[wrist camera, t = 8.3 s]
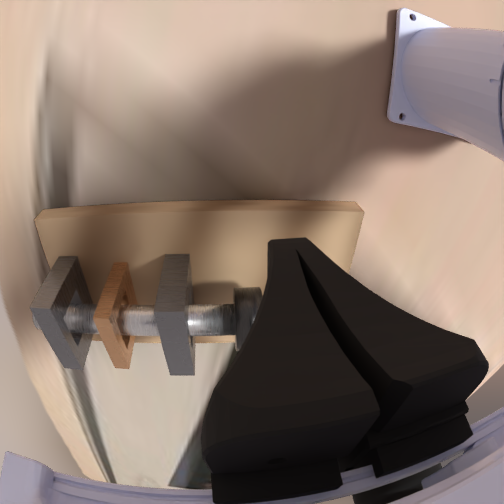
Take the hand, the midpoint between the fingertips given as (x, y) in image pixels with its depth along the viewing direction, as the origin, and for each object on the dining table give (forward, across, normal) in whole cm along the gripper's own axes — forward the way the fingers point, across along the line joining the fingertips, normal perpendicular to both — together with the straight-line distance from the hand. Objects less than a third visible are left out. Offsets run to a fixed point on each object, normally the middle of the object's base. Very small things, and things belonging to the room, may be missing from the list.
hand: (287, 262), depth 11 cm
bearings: (+8, +9, +7) cm, 14 cm away
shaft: (+7, +8, +7) cm, 13 cm away
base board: (+9, +4, +8) cm, 13 cm away
